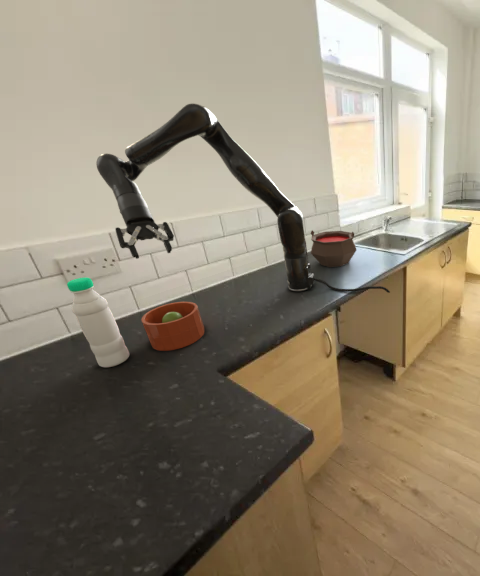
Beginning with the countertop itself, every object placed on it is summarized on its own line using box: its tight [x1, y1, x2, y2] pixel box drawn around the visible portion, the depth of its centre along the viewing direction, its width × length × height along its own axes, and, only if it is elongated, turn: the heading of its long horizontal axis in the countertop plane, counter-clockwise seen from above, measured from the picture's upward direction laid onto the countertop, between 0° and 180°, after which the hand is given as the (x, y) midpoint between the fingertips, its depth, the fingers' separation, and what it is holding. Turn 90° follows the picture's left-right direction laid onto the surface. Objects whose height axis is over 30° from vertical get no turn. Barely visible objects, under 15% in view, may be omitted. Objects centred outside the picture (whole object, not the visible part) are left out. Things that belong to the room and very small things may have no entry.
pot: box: [140, 301, 205, 352], centre depth 99 cm, size 15×15×9 cm
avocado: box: [162, 312, 183, 323], centre depth 99 cm, size 6×6×8 cm
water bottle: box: [66, 276, 130, 368], centre depth 85 cm, size 7×7×25 cm
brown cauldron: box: [310, 229, 357, 268], centre depth 158 cm, size 24×24×16 cm
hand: (154, 254), depth 100 cm, fingers open, 8 cm apart
